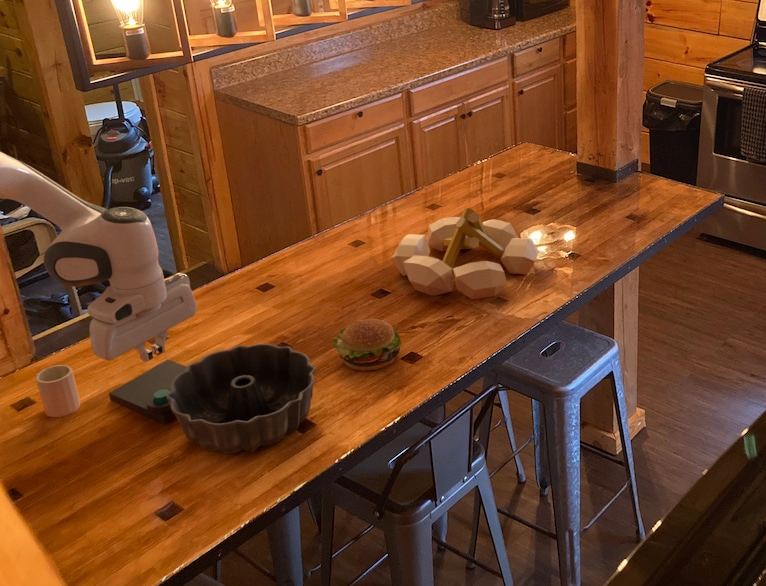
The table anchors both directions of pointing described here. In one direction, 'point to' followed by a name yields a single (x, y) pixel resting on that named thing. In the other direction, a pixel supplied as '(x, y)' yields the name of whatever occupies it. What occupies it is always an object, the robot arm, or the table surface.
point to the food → (368, 344)
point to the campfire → (451, 238)
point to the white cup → (58, 390)
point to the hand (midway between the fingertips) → (153, 356)
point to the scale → (149, 392)
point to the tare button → (160, 396)
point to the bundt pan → (243, 397)
